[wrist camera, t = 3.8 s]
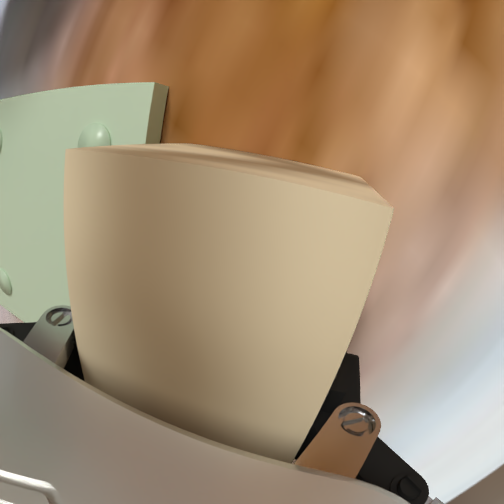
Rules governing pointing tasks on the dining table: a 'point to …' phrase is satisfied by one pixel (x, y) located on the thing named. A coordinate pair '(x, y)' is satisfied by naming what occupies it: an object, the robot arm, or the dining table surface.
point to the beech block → (217, 284)
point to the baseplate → (57, 177)
